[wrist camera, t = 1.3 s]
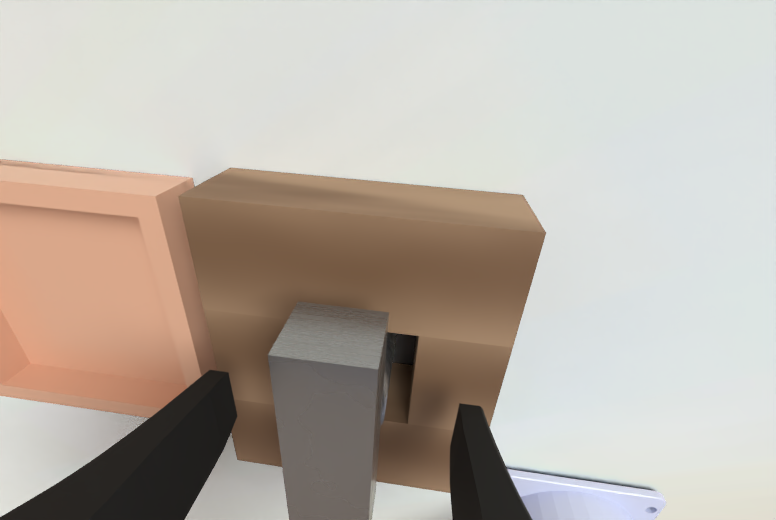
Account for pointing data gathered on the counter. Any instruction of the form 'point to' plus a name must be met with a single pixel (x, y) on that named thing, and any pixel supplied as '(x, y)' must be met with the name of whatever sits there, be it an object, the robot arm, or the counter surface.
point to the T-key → (331, 408)
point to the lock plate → (365, 294)
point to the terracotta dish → (97, 289)
